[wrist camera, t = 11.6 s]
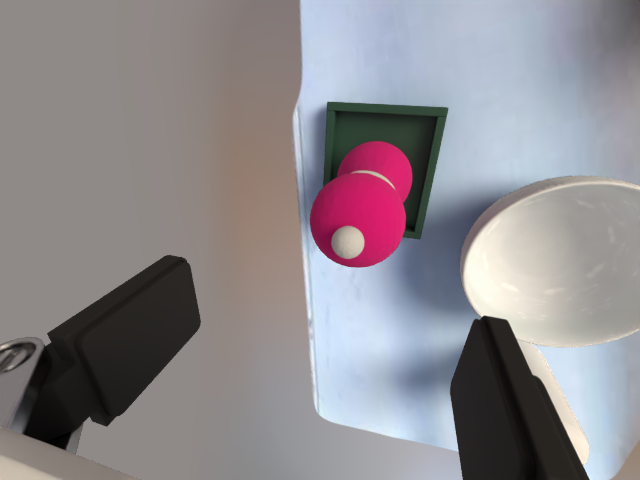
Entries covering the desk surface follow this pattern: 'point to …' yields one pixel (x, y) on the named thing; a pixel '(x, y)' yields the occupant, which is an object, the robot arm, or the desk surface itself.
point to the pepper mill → (363, 206)
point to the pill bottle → (556, 398)
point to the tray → (394, 128)
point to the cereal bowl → (558, 261)
